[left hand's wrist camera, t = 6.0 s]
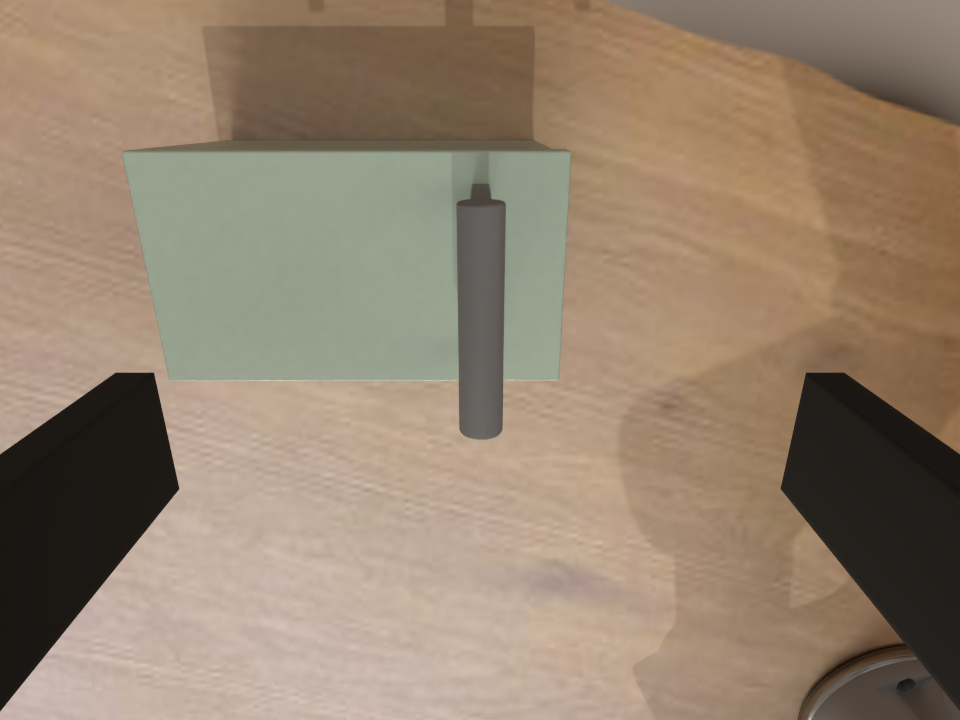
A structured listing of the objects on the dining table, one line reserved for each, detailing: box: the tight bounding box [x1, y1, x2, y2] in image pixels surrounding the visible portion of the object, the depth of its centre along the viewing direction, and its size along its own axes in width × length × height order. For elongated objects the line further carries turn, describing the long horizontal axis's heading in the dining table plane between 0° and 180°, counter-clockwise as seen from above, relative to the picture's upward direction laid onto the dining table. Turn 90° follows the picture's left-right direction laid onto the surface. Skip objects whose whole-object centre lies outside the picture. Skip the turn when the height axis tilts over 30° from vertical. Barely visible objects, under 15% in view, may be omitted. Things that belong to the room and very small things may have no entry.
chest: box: [147, 140, 551, 149], centre depth 31 cm, size 17×10×10 cm, turn 90°
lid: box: [122, 149, 571, 440], centre depth 22 cm, size 17×10×8 cm, turn 90°
